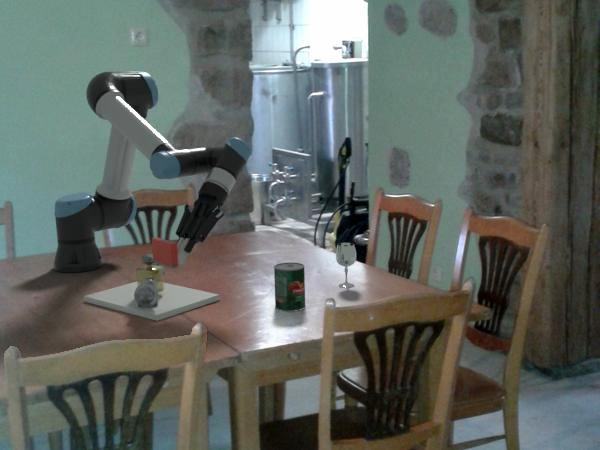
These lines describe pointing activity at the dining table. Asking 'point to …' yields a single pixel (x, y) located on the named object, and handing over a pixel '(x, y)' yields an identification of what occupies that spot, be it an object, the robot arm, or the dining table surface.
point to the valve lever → (162, 253)
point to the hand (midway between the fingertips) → (175, 261)
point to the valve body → (149, 284)
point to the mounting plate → (169, 300)
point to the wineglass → (346, 259)
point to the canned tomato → (289, 286)
